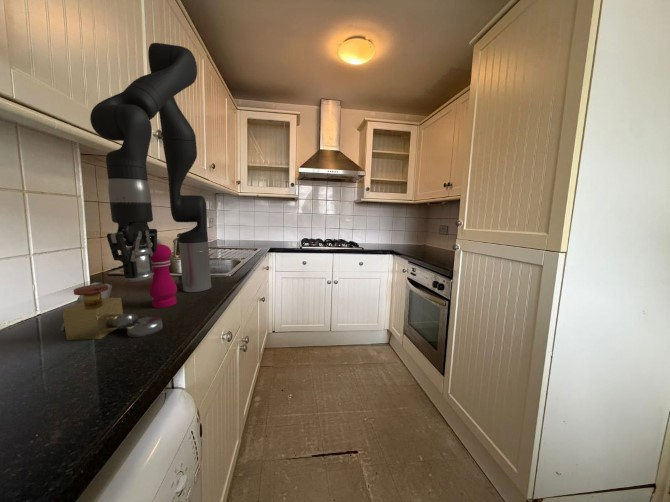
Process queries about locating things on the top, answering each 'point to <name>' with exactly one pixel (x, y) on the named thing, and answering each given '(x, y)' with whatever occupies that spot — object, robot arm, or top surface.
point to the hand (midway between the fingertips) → (139, 274)
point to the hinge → (80, 299)
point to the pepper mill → (162, 278)
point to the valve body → (103, 316)
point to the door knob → (142, 265)
